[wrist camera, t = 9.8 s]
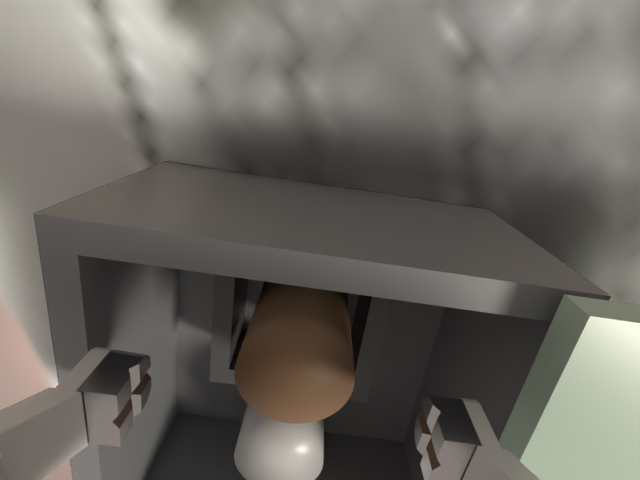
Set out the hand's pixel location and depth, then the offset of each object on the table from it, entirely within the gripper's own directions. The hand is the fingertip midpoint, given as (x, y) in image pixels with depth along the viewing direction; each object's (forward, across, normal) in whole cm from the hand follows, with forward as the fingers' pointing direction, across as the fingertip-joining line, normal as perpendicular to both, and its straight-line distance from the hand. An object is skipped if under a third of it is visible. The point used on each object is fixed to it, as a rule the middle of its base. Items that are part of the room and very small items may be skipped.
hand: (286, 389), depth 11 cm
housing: (+8, -1, +3) cm, 9 cm away
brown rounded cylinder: (+7, 0, +1) cm, 7 cm away
